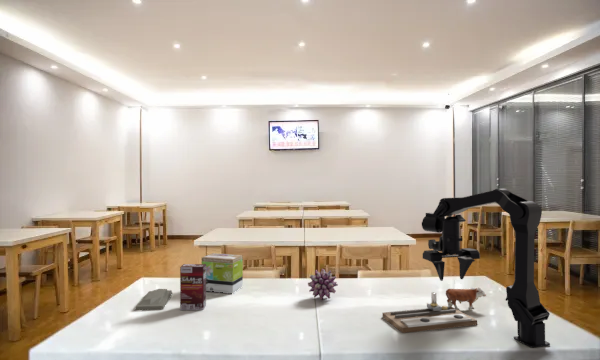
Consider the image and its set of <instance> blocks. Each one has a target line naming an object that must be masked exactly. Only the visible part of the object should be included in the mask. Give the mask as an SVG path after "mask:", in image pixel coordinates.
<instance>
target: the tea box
mask: <svg viewBox="0 0 600 360" xmlns="http://www.w3.org/2000/svg"><path fill="white" fill-rule="evenodd" d="M243 261H244V260H243V254H233V253H232V254H231V253H216V252H215V253H214V252H213V253H210V254H208V255H205V256H202V257H201V264H206V292H212V291H214V292H215V293H220V292H223V293H222V294H228V293H233V294H235V293H236V292H238V291H239V290H238V289H239V288H241V287H242V286H244V285H243V283H244V282H243V280H244V278H243V277H244V276H243V274H244V272H243V271H244V270H243V268H244V267H243V265H244V264H243ZM242 288H243V287H242ZM242 288H241V289H242ZM237 290H238V291H237ZM235 291H236V292H235ZM234 292H235V293H234Z"/></svg>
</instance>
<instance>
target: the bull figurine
mask: <svg viewBox="0 0 600 360" xmlns="http://www.w3.org/2000/svg"><path fill="white" fill-rule="evenodd" d="M445 296H446V298H447V300H446V302H447V307H448V306H451V307H453V308H455V309H457V310H459V311H460V308H459V307H458V306H457V303H456V302H459V304H462V303H464V302H465V303H466V302H467V303H468V310H469V311H473V310H474V309H475V307H474V306H473V304H474V303H475V302H477V300H479V298H481V297H483V298H484V297H487V293H485V290H484V289H483V288H482V287H481V286H479V287H470V288H463V289H462V288H448V289H446V291H445Z"/></svg>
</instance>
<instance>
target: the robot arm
mask: <svg viewBox="0 0 600 360" xmlns="http://www.w3.org/2000/svg"><path fill="white" fill-rule="evenodd" d="M492 204H498V205H499V207H500V208H501V210H503V211H504V212H506V213H508V215H509V221H510V224H511V226H512V228H513V230H514V234H515V235H514V236H515V238H514V239H515V243H514V245H515V246H514V250H515V251H514V282H513V283H512V285H509V286H508V285H507V286H506V287H505V288H506V289H505V291H506V298H505V301H506V302H507V306H508V308H509V310H511V313H512V316H513V319H514V321H516V322H517V335H515V336H513V339H514V340H516V341H518V342H519V343H522V344H524V345H526V346H527V347H529V348H539V347H546V346H551V343H550V342H548V341H546V323H545V322H544V321H547V320H548V319H549V317H550V312H549V311H548V309H547V308H546V307H545V306H544V305H543V304H542V303H541V300H540V293H539V291H538V288H537V286H536V284H535V238H536V237H535V234H536V232H537V230H538V227H539V226H540V223H541V218H542V215H543V213H542V212H543V211H542V209H543V208H542V207H541V205H539V204H538V203H536V201H532V200H531V201H530V200H527V199H526V198H525V197H523V196H520V195H517V194H516V193H513V192H512V191H510V190H509V189H507V188H495V189H492V190H489V191H485V192H481V193H476V194H473V195H468V196H467V195H466V196H463V197H461V196H460V197H457V196H456V197H443V198H441V199H440V200H439V202H438V205H437V207H436V208H435V210H434V211H433V212H425V216H424V217H423V218H422V221H421V228H422V229H423V230H424V231H426V232H429V233H439V234H440V233H441V236H439V238H438V239H439V240H438V241H436V239H428V240H427V242H428V243H427V245H428V249H429V250H424V251H423V252H422V259H424V260H426V261H428V262H431V263H432V264H433V266H434V268H435V270H436V273H437V275H438V278H439V281H441V282H442V281H444V276H445V263H446V262H445V261H443V259H446V258H457V260H458V262H459V279H460V280H464V278H465V276H466V274H467V272H468V270H469V269H470V267H471V265H472V264H473V262H475V261H476V260H478V259H481V254H480V252H479V250H478V249H475V248H471V247H468V248H467V247H466V248H461V242H463V237H461V232H460V231H461V229H460V227H461V225H460V224H461V223H465V222H466V219H465V217H463V216H462V215H461V214H462V213H463V212H465V211H468V210H469V209H471V208H475V207H476V208H477V207H481V206H486V205H492ZM453 215H455V216H453Z"/></svg>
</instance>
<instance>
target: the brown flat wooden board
mask: <svg viewBox="0 0 600 360" xmlns="http://www.w3.org/2000/svg"><path fill="white" fill-rule="evenodd" d="M441 309H442V311H432V310H430V309H429V308H427V307H426V308H415V309H409V310H407V309H405V310H396V311H387V312H382V318H383V319H384V320H386V321H387V322H388V323H389V324H391V325H392V326H394V327H395V328H396V329H397V330H398V331H400V332H401V333H402V334H406V333H407V334H408V333H414V332H415V333H417V332H423V331H424V332H425V331H432V330H433V331H434V330H442V329H444V330H445V329H449V328H450V329H453V328H463V327H470V326H477V325H478V319H476V318H474V317H472V316H471V315H468V314H466V313H464V312H462V311H460V310H457V309H455V307H454V306H452V307H451V306H448V305H447V306H446V305H441Z"/></svg>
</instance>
